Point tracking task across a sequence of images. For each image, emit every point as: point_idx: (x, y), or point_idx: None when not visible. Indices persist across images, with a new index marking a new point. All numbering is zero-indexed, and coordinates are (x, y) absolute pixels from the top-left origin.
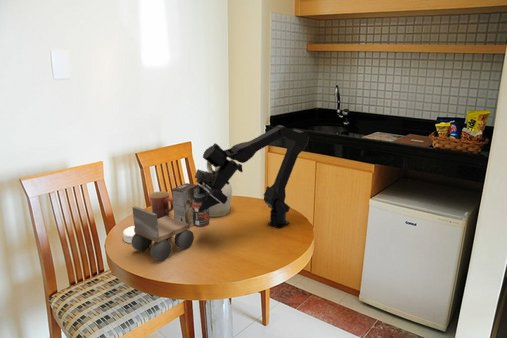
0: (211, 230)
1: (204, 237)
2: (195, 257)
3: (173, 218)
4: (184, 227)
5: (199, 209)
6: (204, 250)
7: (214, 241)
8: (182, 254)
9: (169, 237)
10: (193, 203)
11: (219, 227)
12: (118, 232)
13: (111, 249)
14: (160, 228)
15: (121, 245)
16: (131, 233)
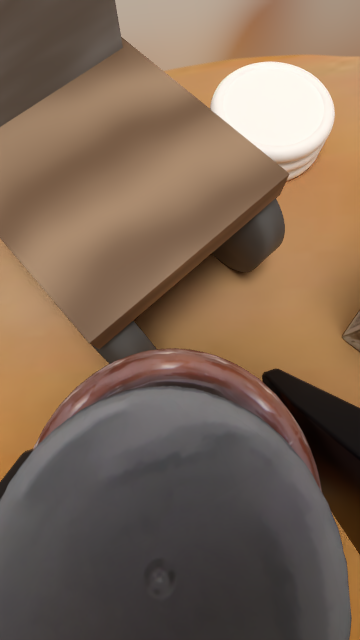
0: None
1: None
2: (11, 389)
3: (229, 223)
4: (61, 309)
5: (13, 466)
6: None
7: None
8: (59, 328)
9: (224, 258)
10: (110, 372)
11: None
12: (321, 70)
13: (173, 74)
14: (72, 158)
15: (200, 97)
16: (239, 91)
